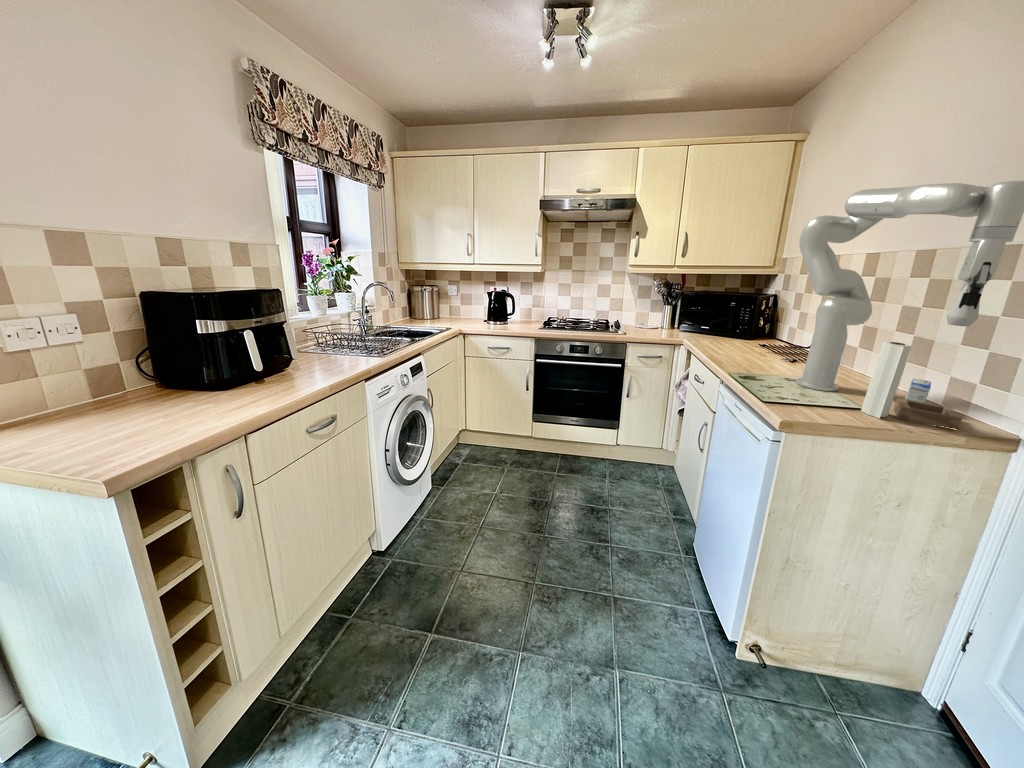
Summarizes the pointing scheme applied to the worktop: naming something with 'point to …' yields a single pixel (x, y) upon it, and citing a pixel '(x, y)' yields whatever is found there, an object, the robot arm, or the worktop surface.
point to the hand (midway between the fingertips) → (965, 307)
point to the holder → (926, 413)
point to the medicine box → (918, 390)
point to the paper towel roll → (885, 378)
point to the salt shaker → (963, 310)
